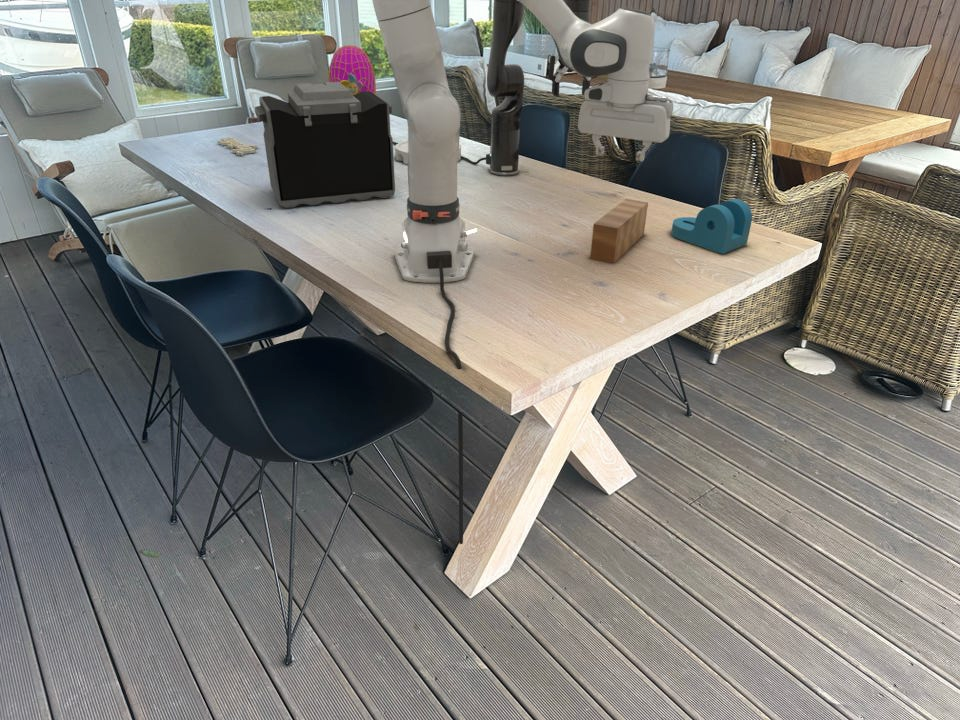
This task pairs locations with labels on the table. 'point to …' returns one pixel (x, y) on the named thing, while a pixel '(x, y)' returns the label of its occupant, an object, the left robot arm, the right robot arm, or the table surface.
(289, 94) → the electronic device
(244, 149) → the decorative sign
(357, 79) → the decorative egg
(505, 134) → the right robot arm
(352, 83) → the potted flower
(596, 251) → the box
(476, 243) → the table surface
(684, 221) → the camera mount
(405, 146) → the ashtray
